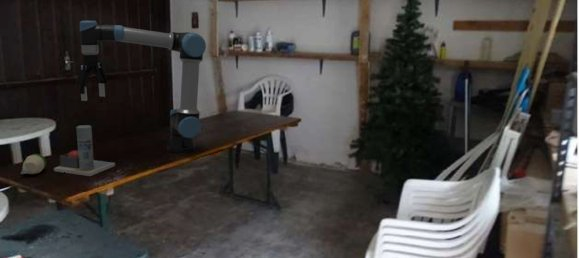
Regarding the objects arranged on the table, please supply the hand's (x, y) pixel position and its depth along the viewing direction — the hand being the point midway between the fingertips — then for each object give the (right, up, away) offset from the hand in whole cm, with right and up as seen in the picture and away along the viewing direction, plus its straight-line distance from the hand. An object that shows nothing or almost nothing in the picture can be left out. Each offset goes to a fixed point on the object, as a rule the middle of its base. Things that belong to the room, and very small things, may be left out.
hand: (93, 98), depth 236 cm
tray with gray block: (-3, -33, -2) cm, 34 cm away
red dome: (-8, -32, -2) cm, 33 cm away
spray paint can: (0, -33, -7) cm, 34 cm away
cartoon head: (-23, -35, -10) cm, 43 cm away
